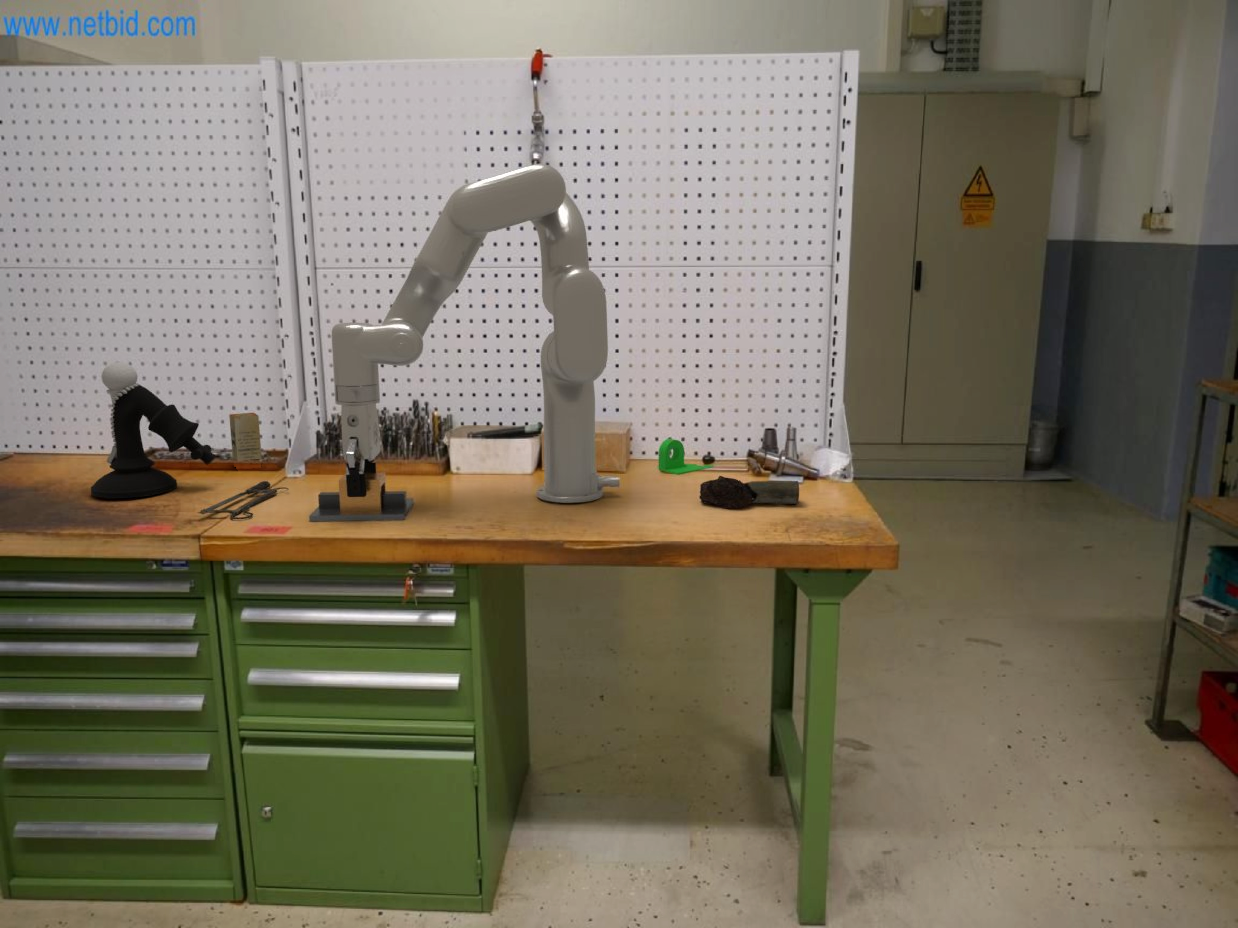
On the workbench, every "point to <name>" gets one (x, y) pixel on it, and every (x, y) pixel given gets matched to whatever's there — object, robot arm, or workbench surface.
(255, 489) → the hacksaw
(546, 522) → the workbench surface
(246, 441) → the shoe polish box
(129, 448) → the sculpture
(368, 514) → the rail
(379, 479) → the tan wooden block
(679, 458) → the mechanical part
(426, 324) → the robot arm
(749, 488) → the dark elongated piece
